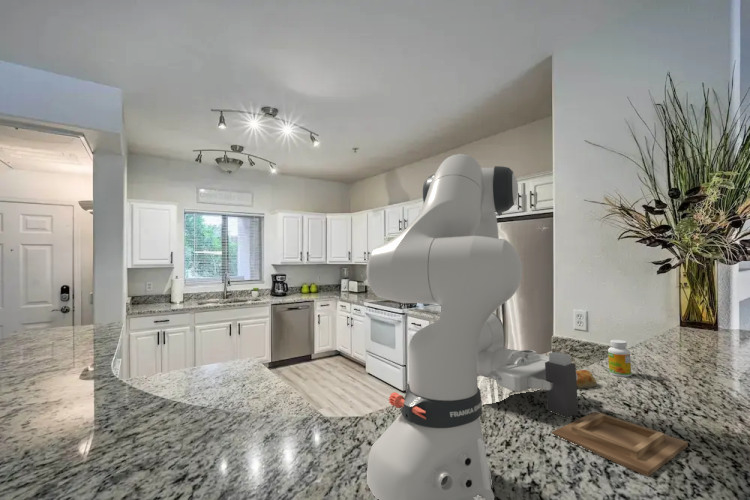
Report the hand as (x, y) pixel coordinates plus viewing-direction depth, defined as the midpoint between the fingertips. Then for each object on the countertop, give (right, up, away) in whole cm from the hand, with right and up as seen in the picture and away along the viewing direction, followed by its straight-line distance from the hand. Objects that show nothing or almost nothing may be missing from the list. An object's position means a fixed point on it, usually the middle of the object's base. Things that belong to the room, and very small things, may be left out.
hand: (564, 381), depth 79 cm
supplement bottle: (+30, -7, +24) cm, 39 cm away
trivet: (+3, -6, -13) cm, 15 cm away
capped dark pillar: (0, -7, 0) cm, 7 cm away
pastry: (+13, -8, +17) cm, 23 cm away
